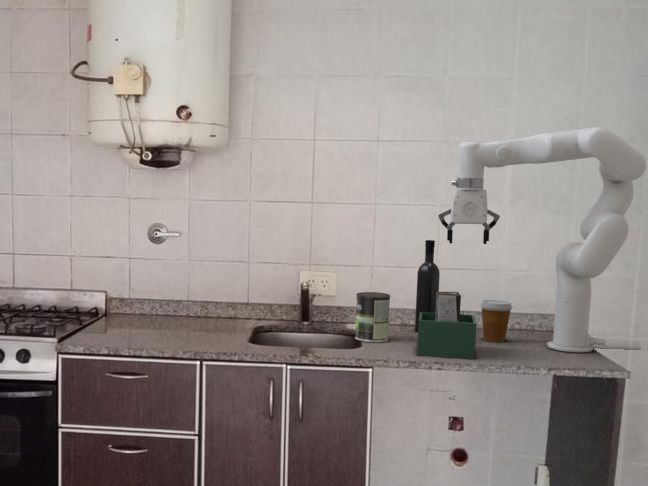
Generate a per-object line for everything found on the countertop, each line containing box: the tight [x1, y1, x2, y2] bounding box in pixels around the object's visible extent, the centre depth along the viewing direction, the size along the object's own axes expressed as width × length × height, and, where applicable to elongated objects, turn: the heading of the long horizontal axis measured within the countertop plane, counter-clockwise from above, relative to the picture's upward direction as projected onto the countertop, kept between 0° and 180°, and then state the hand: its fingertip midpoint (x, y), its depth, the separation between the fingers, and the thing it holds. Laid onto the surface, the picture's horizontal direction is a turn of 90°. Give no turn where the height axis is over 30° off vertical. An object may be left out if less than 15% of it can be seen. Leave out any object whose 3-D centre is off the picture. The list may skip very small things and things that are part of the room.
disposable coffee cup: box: [479, 299, 513, 343], centre depth 254 cm, size 10×10×12 cm
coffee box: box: [435, 291, 462, 322], centre depth 235 cm, size 9×6×16 cm
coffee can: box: [354, 291, 391, 343], centre depth 252 cm, size 10×10×14 cm
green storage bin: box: [416, 312, 477, 360], centre depth 235 cm, size 16×16×10 cm
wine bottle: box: [414, 239, 441, 333], centre depth 266 cm, size 6×6×30 cm
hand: (467, 243), depth 239 cm, fingers open, 9 cm apart
